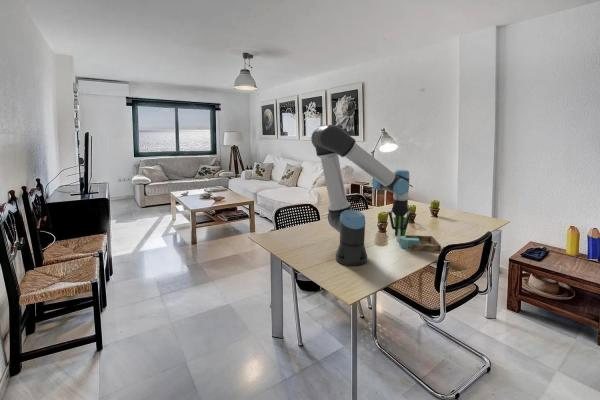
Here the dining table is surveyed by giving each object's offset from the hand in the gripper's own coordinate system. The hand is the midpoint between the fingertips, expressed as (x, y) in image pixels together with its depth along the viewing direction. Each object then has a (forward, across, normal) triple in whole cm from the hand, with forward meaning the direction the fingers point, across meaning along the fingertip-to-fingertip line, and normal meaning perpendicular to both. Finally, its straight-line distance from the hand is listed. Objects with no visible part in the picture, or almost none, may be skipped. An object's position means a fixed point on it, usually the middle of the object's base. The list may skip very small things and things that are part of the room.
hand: (398, 241), depth 177 cm
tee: (+2, +6, 0) cm, 6 cm away
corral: (+2, +12, 0) cm, 12 cm away
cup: (+2, +4, +15) cm, 16 cm away
